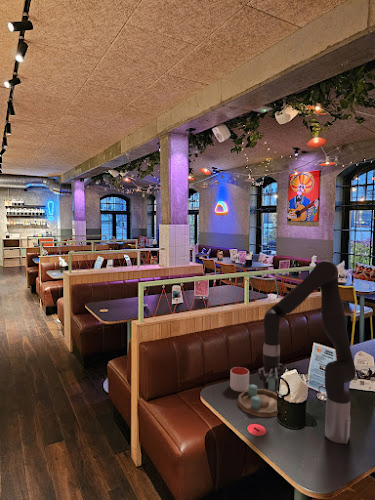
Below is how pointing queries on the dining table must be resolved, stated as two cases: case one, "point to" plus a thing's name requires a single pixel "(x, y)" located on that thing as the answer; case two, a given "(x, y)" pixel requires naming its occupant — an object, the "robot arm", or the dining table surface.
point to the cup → (239, 379)
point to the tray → (271, 400)
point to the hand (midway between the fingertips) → (270, 387)
